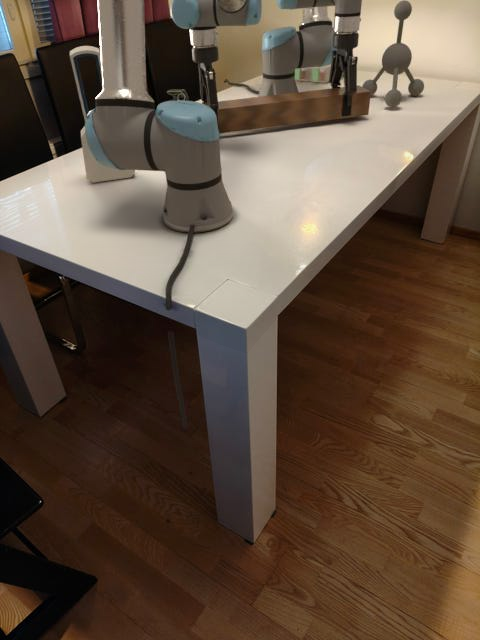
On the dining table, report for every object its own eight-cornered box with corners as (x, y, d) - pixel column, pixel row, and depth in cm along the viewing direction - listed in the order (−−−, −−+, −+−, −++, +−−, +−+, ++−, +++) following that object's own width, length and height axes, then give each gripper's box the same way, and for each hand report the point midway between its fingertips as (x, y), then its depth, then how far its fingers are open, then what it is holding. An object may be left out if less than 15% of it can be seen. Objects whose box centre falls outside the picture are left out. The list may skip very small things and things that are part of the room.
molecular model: (443, 101, 169) (463, -1, 151) (390, 111, 164) (404, 5, 145) (402, 88, 187) (415, -6, 169) (352, 96, 181) (360, 0, 163)
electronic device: (87, 183, 126) (55, 53, 107) (87, 173, 131) (56, 48, 113) (136, 176, 128) (112, 47, 110) (133, 167, 134) (110, 43, 115)
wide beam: (188, 137, 147) (186, 113, 143) (184, 129, 154) (181, 105, 150) (368, 114, 157) (370, 91, 153) (356, 108, 164) (358, 85, 159)
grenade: (169, 124, 164) (164, 92, 158) (174, 119, 168) (171, 88, 162) (187, 125, 162) (184, 92, 156) (193, 120, 167) (189, 88, 161)
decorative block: (314, 53, 218) (356, 56, 208) (314, 69, 221) (354, 72, 212) (284, 64, 202) (328, 68, 192) (284, 81, 205) (327, 85, 196)
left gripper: (225, 50, 130) (230, 136, 144) (210, 39, 147) (216, 117, 161) (198, 53, 129) (205, 139, 143) (185, 41, 146) (193, 119, 159)
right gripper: (374, 36, 137) (365, 119, 151) (343, 26, 154) (338, 102, 168) (349, 38, 136) (342, 122, 150) (320, 28, 152) (317, 104, 166)
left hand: (211, 127), depth 152 cm, fingers closed on wide beam, 9 cm apart
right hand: (340, 111), depth 159 cm, fingers closed on wide beam, 9 cm apart
